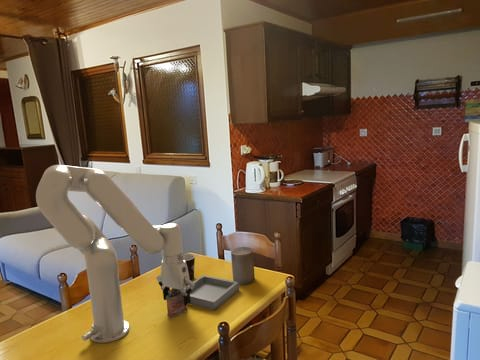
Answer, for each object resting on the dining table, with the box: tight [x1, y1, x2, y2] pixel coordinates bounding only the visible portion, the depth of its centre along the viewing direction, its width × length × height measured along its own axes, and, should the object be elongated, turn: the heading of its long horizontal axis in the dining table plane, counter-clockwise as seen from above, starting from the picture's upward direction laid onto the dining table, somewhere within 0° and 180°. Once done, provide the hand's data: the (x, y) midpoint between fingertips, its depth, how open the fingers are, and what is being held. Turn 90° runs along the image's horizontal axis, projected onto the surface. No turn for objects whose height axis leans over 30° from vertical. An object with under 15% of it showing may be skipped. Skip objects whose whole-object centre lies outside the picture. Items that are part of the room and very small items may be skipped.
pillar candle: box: [230, 246, 256, 286], centre depth 158 cm, size 10×10×15 cm
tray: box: [184, 274, 240, 312], centre depth 146 cm, size 18×18×4 cm
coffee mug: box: [183, 253, 196, 281], centre depth 162 cm, size 12×9×10 cm
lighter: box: [165, 288, 188, 319], centre depth 134 cm, size 8×3×10 cm, turn 131°
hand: (177, 301), depth 134 cm, fingers open, 9 cm apart
